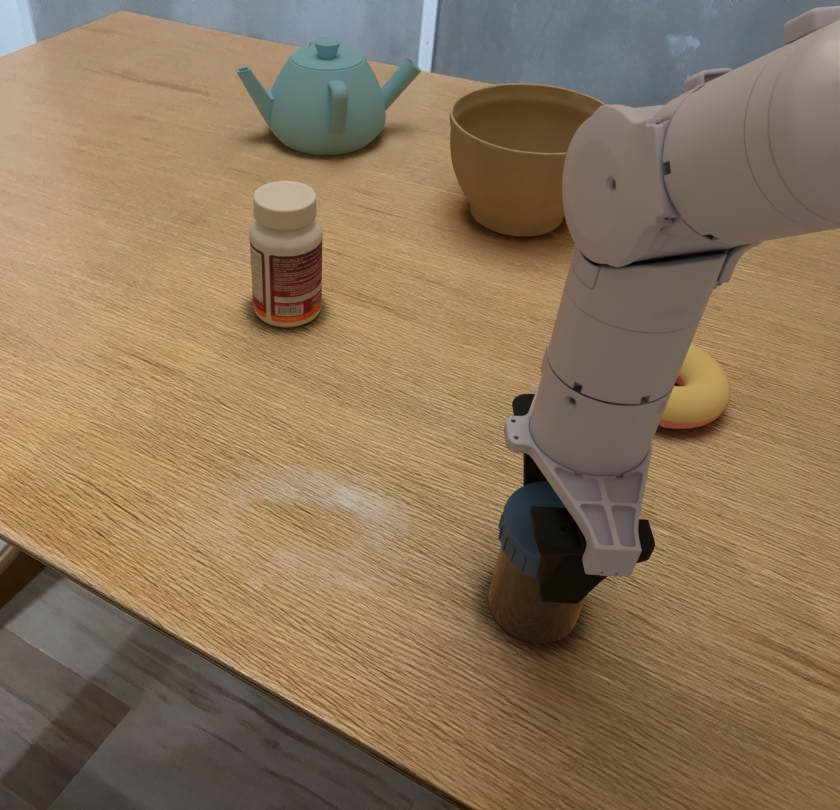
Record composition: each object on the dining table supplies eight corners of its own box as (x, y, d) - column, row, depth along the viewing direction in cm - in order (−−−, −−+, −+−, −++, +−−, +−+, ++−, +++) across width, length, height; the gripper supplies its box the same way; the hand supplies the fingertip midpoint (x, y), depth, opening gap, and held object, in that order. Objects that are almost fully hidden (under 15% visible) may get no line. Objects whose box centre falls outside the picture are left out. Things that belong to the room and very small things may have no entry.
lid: (632, 551, 46) (641, 531, 45) (557, 606, 43) (565, 586, 42) (548, 485, 50) (555, 464, 48) (475, 531, 47) (479, 510, 46)
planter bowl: (408, 201, 89) (417, 101, 81) (524, 168, 94) (543, 72, 87) (503, 273, 78) (524, 166, 71) (628, 231, 84) (659, 128, 77)
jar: (594, 632, 49) (627, 554, 44) (511, 653, 48) (536, 576, 43) (550, 561, 53) (576, 483, 48) (473, 580, 52) (492, 501, 47)
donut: (638, 366, 71) (565, 391, 67) (652, 317, 69) (576, 340, 64) (746, 418, 64) (671, 450, 59) (765, 365, 62) (689, 394, 57)
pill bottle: (334, 304, 74) (338, 190, 67) (295, 338, 71) (294, 221, 63) (279, 282, 77) (277, 170, 69) (239, 314, 73) (231, 199, 66)
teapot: (360, 176, 93) (365, 76, 85) (235, 142, 100) (229, 47, 92) (419, 128, 103) (428, 34, 95) (301, 100, 110) (301, 10, 102)
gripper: (505, 273, 43) (470, 454, 52) (545, 474, 33) (491, 657, 42) (642, 279, 43) (582, 460, 52) (727, 484, 32) (633, 666, 41)
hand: (550, 548), depth 47 cm, fingers closed on lid, 6 cm apart
